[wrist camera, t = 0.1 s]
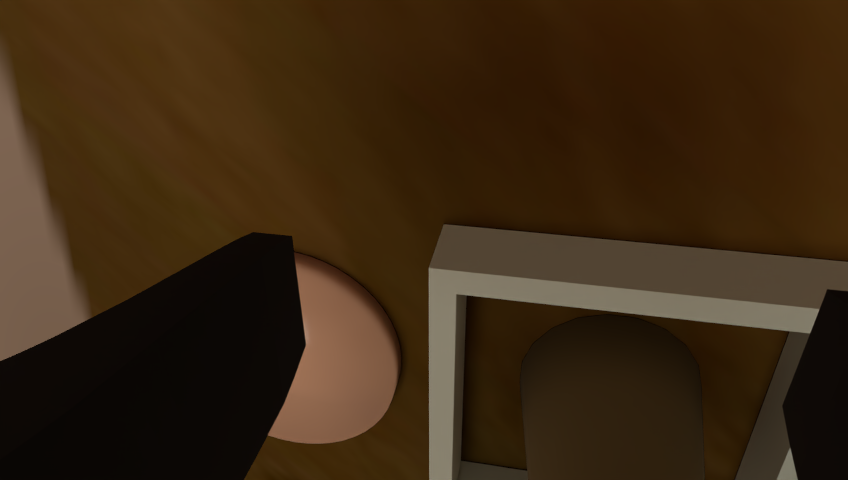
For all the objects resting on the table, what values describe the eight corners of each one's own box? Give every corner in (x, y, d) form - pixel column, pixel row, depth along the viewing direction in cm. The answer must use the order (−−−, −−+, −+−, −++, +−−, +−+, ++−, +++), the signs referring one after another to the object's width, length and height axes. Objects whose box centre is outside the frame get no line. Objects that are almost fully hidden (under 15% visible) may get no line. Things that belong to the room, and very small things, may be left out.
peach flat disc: (403, 438, 26) (398, 458, 25) (208, 408, 27) (196, 426, 26) (398, 261, 21) (391, 279, 21) (166, 237, 23) (150, 252, 22)
